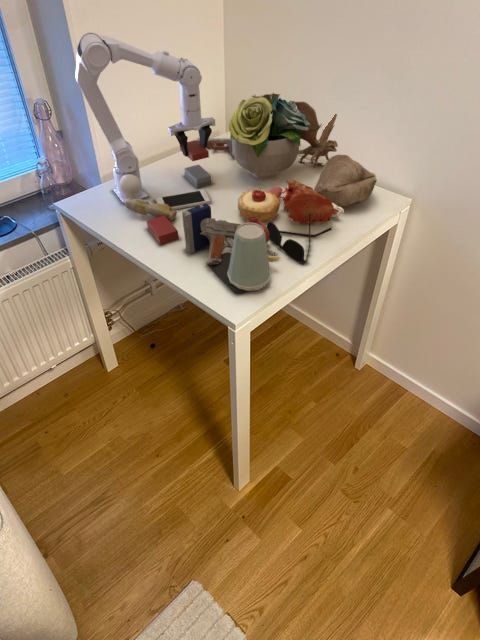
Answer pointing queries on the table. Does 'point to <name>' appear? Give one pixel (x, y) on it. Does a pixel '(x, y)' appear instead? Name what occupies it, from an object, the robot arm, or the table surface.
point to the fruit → (255, 220)
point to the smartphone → (184, 199)
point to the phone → (225, 272)
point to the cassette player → (195, 227)
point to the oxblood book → (196, 151)
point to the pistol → (217, 237)
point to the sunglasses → (291, 241)
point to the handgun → (219, 144)
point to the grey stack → (198, 176)
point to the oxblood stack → (162, 230)
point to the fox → (273, 258)
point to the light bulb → (130, 186)
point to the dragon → (315, 135)
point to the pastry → (258, 205)
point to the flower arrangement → (266, 134)
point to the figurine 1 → (150, 208)
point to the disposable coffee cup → (249, 258)
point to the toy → (270, 252)
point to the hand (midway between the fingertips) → (194, 153)
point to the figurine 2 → (278, 192)
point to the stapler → (338, 210)
